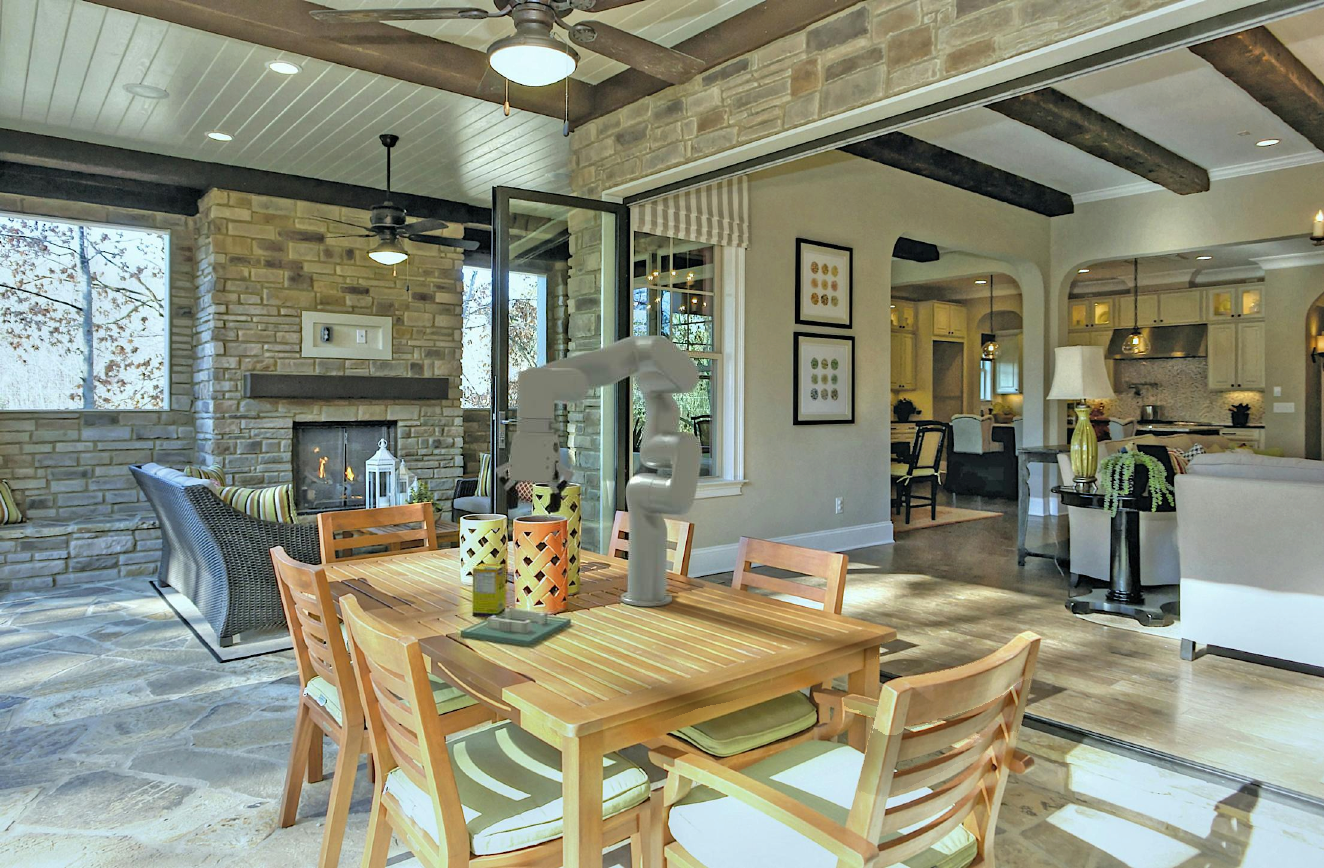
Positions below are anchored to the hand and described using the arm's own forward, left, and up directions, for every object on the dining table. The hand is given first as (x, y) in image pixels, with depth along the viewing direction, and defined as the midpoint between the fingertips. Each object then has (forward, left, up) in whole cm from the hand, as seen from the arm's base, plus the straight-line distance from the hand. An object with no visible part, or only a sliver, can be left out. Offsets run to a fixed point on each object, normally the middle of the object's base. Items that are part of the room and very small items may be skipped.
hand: (533, 510), depth 165 cm
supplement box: (-12, -18, -27) cm, 34 cm away
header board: (-3, -5, -26) cm, 27 cm away
